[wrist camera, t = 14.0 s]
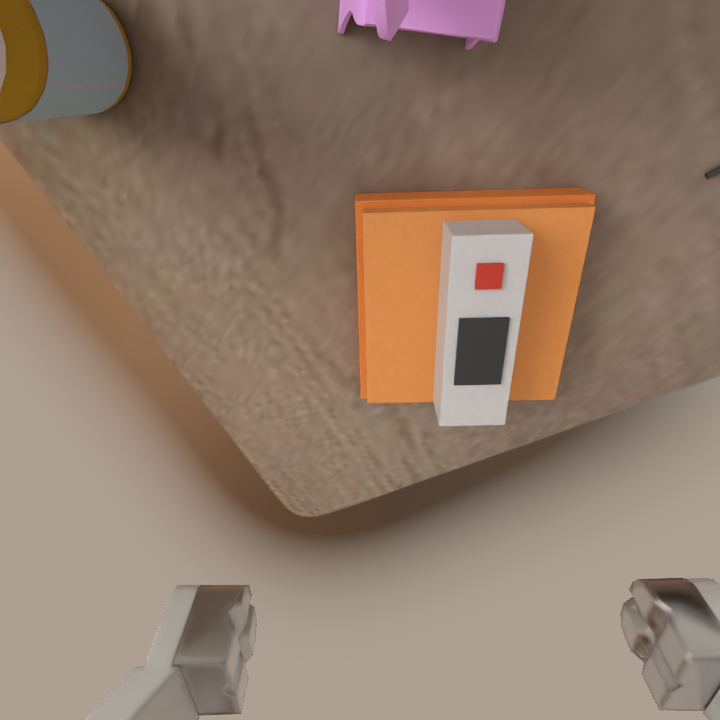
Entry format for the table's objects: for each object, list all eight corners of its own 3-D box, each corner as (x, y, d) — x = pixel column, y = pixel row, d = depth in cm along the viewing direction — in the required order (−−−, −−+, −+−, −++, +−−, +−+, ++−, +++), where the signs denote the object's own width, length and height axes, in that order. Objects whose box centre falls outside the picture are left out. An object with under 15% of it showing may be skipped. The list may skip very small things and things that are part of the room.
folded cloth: (355, 193, 34) (354, 205, 30) (581, 186, 34) (606, 198, 30) (361, 382, 42) (360, 409, 38) (543, 378, 42) (560, 405, 38)
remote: (442, 220, 31) (452, 237, 28) (517, 218, 31) (536, 234, 28) (432, 398, 38) (439, 429, 35) (493, 397, 38) (506, 427, 34)
